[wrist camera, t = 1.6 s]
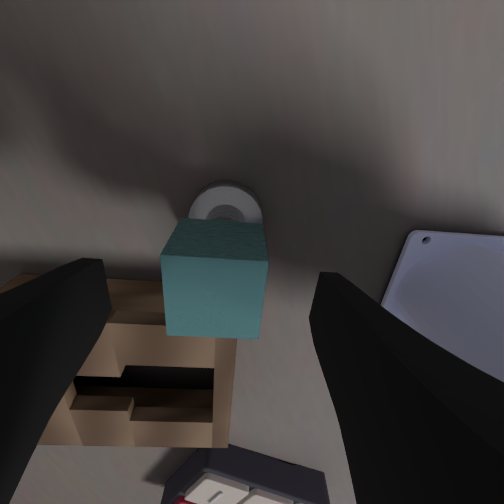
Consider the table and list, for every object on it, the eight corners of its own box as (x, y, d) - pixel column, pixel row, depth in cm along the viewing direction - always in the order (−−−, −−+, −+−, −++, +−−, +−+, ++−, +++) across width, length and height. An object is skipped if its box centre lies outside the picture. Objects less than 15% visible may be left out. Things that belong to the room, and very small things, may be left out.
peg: (265, 183, 15) (284, 250, 8) (258, 247, 17) (268, 347, 10) (192, 177, 15) (144, 241, 8) (193, 242, 17) (155, 343, 10)
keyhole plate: (239, 285, 18) (237, 328, 15) (230, 397, 24) (227, 448, 20) (20, 273, 17) (-38, 316, 14) (64, 392, 23) (32, 444, 19)
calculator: (202, 477, 24) (335, 520, 27) (210, 427, 28) (325, 470, 31) (154, 523, 28) (274, 555, 32) (166, 474, 32) (272, 507, 35)
